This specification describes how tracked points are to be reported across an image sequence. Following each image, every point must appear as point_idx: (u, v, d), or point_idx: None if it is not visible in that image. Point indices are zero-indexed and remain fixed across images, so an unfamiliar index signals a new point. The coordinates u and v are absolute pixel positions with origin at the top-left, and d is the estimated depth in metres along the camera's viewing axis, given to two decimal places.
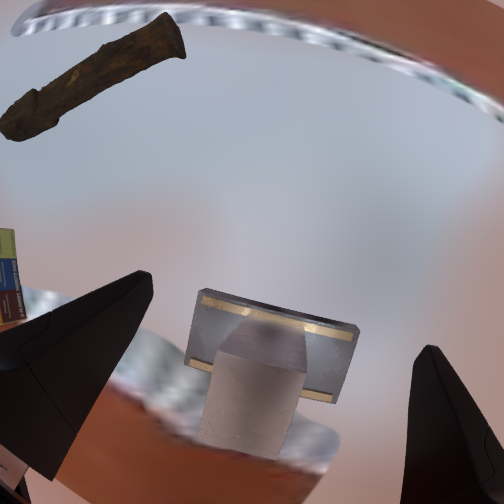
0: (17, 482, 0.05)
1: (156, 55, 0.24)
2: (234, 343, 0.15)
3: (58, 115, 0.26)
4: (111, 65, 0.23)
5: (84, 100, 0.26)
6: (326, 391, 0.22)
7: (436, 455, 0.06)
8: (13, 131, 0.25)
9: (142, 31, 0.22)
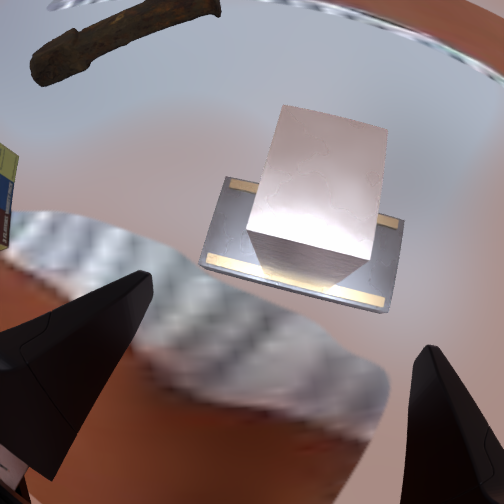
0: (17, 482, 0.05)
1: (197, 7, 0.25)
2: None
3: (92, 56, 0.26)
4: (156, 9, 0.24)
5: (121, 43, 0.26)
6: (376, 293, 0.18)
7: (436, 455, 0.06)
8: (44, 65, 0.24)
9: None
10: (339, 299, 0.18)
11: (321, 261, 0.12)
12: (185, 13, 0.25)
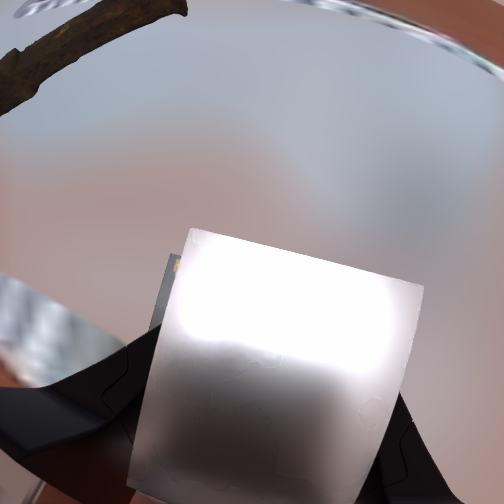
0: None
1: (157, 6, 0.19)
2: None
3: (38, 79, 0.20)
4: (106, 14, 0.18)
5: (70, 60, 0.20)
6: None
7: None
8: None
9: None
10: None
11: None
12: (143, 15, 0.20)
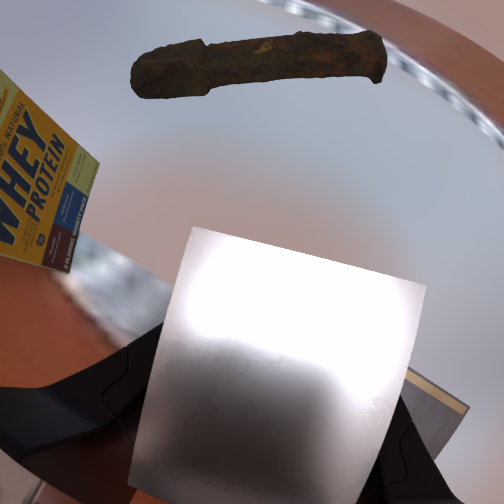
0: None
1: (360, 67, 0.23)
2: None
3: (218, 83, 0.25)
4: (315, 55, 0.22)
5: (259, 80, 0.25)
6: None
7: None
8: (153, 77, 0.23)
9: (352, 38, 0.22)
10: None
11: None
12: (344, 70, 0.23)
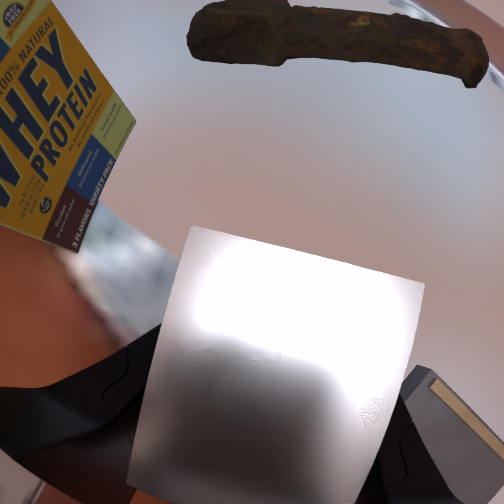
0: None
1: (459, 66, 0.17)
2: None
3: (300, 54, 0.19)
4: (417, 41, 0.16)
5: (349, 58, 0.19)
6: None
7: None
8: (221, 32, 0.17)
9: (453, 32, 0.16)
10: None
11: None
12: (443, 65, 0.17)
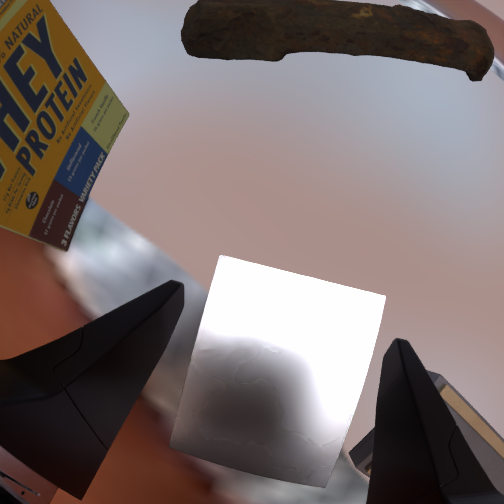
0: None
1: (464, 59, 0.16)
2: None
3: (300, 47, 0.18)
4: (422, 33, 0.15)
5: (351, 51, 0.18)
6: None
7: (399, 453, 0.06)
8: (217, 26, 0.16)
9: (456, 24, 0.15)
10: None
11: None
12: (448, 58, 0.16)
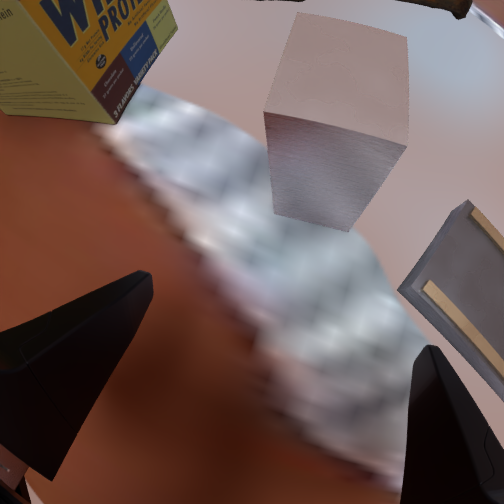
0: (17, 482, 0.05)
1: None
2: None
3: None
4: None
5: None
6: None
7: (436, 455, 0.06)
8: None
9: None
10: None
11: (348, 165, 0.10)
12: None
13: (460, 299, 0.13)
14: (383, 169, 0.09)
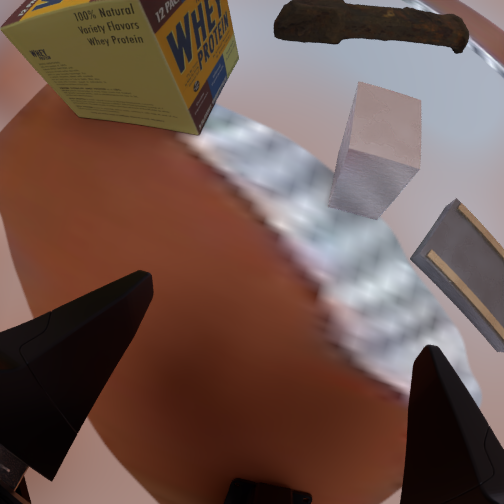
0: (17, 482, 0.05)
1: (450, 39, 0.24)
2: None
3: (352, 35, 0.26)
4: (424, 25, 0.23)
5: (382, 38, 0.26)
6: None
7: (436, 455, 0.06)
8: (304, 19, 0.24)
9: (443, 17, 0.23)
10: (491, 328, 0.19)
11: (386, 177, 0.17)
12: (440, 39, 0.25)
13: (452, 263, 0.20)
14: (405, 180, 0.16)
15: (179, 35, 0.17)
